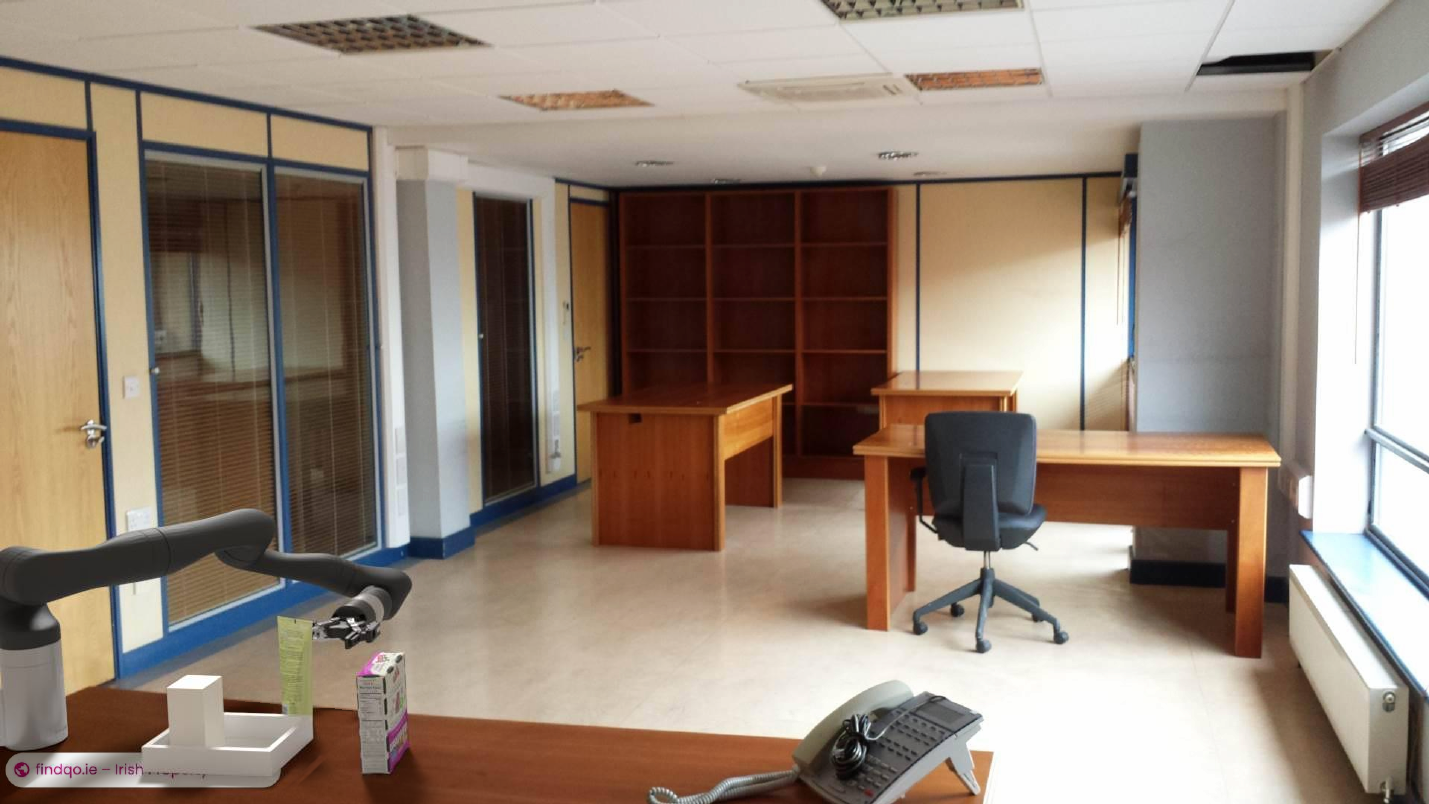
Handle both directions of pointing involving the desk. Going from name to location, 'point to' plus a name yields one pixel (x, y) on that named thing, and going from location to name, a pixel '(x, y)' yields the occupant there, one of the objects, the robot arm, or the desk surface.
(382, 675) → the candy bar box
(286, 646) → the tube
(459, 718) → the desk surface
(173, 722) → the carton
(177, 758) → the tote
